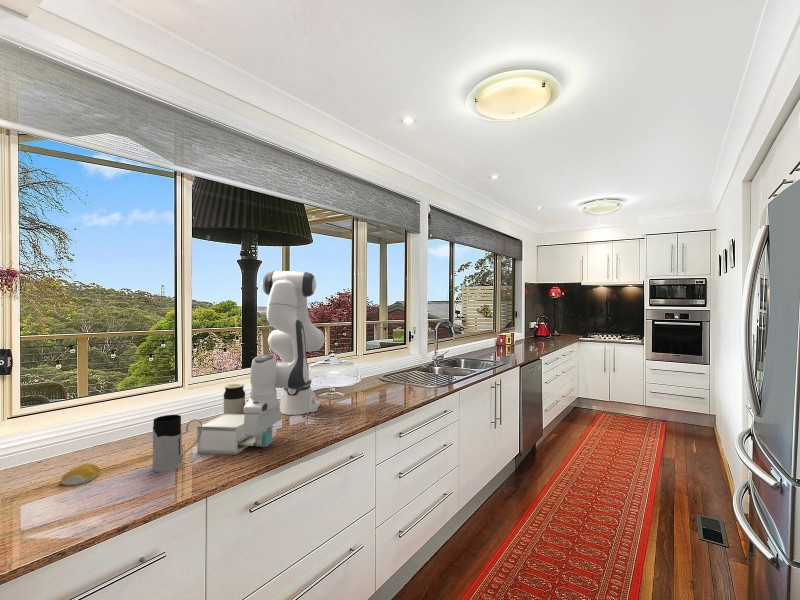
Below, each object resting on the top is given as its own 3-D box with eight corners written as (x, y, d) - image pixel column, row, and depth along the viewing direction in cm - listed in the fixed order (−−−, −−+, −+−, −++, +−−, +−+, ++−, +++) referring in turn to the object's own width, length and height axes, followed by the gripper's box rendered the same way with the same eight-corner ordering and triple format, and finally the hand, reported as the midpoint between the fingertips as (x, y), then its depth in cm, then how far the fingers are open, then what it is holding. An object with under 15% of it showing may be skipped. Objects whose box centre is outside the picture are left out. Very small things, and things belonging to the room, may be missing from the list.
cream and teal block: (223, 438, 149) (222, 427, 149) (274, 440, 147) (274, 429, 147) (209, 446, 141) (209, 434, 142) (263, 448, 139) (263, 436, 139)
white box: (224, 437, 154) (224, 413, 154) (260, 439, 152) (260, 414, 152) (197, 452, 138) (197, 426, 138) (238, 454, 136) (237, 427, 136)
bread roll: (104, 471, 123) (104, 458, 123) (89, 484, 115) (89, 470, 115) (73, 474, 121) (73, 461, 121) (55, 487, 113) (54, 473, 113)
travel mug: (230, 434, 157) (230, 388, 157) (219, 430, 162) (219, 385, 162) (249, 429, 163) (248, 384, 164) (238, 425, 168) (238, 382, 168)
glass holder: (154, 462, 129) (154, 415, 130) (203, 456, 134) (203, 411, 135) (148, 473, 121) (148, 423, 121) (200, 466, 126) (200, 418, 126)
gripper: (268, 395, 154) (268, 431, 154) (240, 409, 134) (240, 451, 133) (284, 395, 153) (284, 432, 153) (258, 409, 133) (258, 451, 133)
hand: (263, 441), depth 143 cm, fingers closed on cream and teal block, 4 cm apart
